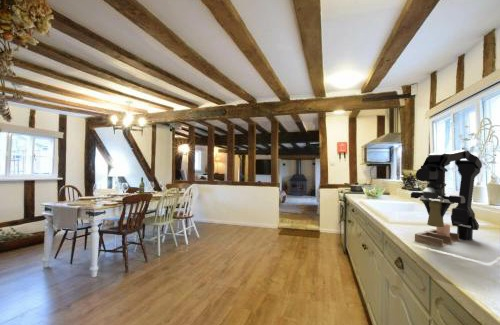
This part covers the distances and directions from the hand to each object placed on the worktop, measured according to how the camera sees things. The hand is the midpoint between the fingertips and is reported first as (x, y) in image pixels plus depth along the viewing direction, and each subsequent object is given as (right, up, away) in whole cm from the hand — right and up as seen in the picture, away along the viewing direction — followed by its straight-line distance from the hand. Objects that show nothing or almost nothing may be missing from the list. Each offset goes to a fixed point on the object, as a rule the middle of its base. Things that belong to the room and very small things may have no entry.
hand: (435, 216), depth 110 cm
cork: (0, -4, 0) cm, 4 cm away
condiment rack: (+3, -13, +3) cm, 13 cm away
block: (+7, -12, +5) cm, 15 cm away
